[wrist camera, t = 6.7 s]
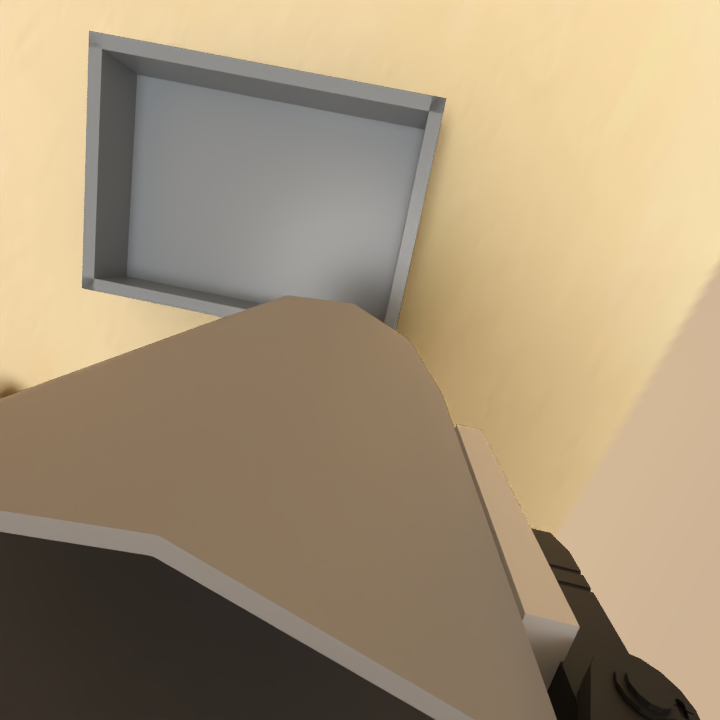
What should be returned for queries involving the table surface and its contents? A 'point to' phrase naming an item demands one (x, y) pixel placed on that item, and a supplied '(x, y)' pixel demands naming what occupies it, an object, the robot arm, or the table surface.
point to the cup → (252, 535)
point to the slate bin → (249, 181)
